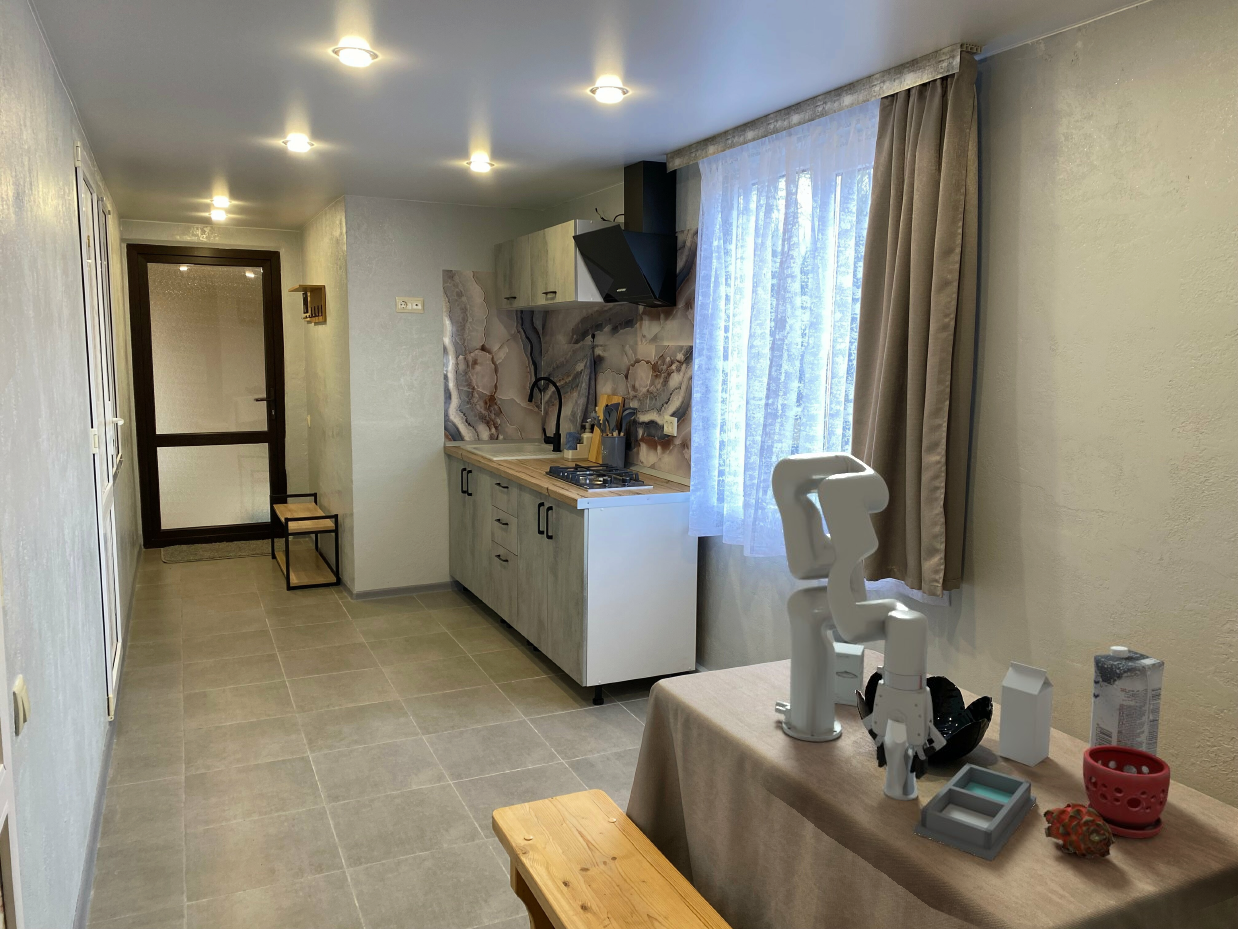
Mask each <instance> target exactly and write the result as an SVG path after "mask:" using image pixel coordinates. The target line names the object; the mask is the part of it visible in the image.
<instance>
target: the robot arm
mask: <svg viewBox="0 0 1238 929" xmlns="http://www.w3.org/2000/svg"><path fill="white" fill-rule="evenodd" d="M771 490H772V493H773V494H772V495H773V498H774V501H775V504H776V506H777V509H778V511H779V515H780V518H781V523H782V532H783V538H784V547H785V553H786V561H787V565H788V566H787V567H788V571H789V573H790V574H791V577H793V578H794V579H795V580H796V581H797V580H799V581H802V582H803V581H805V582H806V581H807V582H808V581H818V580H827V582H826V583H827V585H826V584H824V585H817V586H810V587H809V586H808V587H804V588H801V589H798V590H796V591H793V593H791V595H789V597H788V599H787V602H786V616H787V620H788V621H787V623H788V627H789V634H790V635H789V636H790V678H789V679H790V682H789V684H790V685H789V687H790V688H789V703H788V702H786V701H783V700H777V701H775V702H776V703H775V709H774V712H775V713H777V714H779V715H783V716H784V718H783V719H782V728H781V729H782V730H783V731H784V733H785V734H787V735H789V736H790V737H792V738H795V739H798V740H801V741H807V742H816V743H817V742H827V741H832V740H834V739H835V740H836V739H837V738H838V737H840V736H841V735H842V731H843V730H842V728H843V727H842V725H841V723H840V722H839V721H838V720H837V719H835V718H836V717H835V716H836V712H835V711H836V709H835V708H836V703H835V681H836V651H835V648H834V646H833V642H832V641H831V640H830V638H829V637H828V632H831V631H832V630H836V629H837V630H838V632H839V634H840V635H841V637H842V638H843V639H844V640H845V641H847V642H849V643H853V644H856V645H860V644H865V643H871V642H878V641H884V650H883V665H882V666H880V665H877V667H876V673H878V674H880V675H881V676H882V678H881V680H879V681H878V684H877V687H876V691H875V692H876V693H875V697H874V703H873V711H872V713H871V714H869V715H868V716H866V717H864V718H863V719H862V720H861V723H862V725H863V726H864V728H865V730H866V731H867V733H868V735H869V736H870V737H871V739H872V740H873V741H874V742H873V744H874V745H875V746H876V759H875V760H877V767H878V768H880V769H881V768H883V767H884V766H885V767H886V762H885V756H884V749H883V737H886V729H887V724H888V723H887V721H888V719H891V720H894V721H897V722H902V723H905V727H906V735H907V743H908V744H910V745H914V746H916V750H917V753H918V757H917V758H916V763H915V778H916V780H921V779H922V778H923V777H924V776H925V775H926V774H927V773H928V770H929V769H928V768H929V766H928V765H929V757H930V756H931V755H933V754H934V753H936V752H937V751H939V750H940V749H941V748H943V747H944V746H945V745H946V744H947V740H946V739H945V738H944V737H943V735H942V734H941V732H940V731H939V730H938V729H937V728H936V727H935V725H934V713H933V712H934V711H933V702H932V696H931V690H930V688H929V687H928V686H927V671H928V647H929V621H928V618H927V616H926V615H925V614H923V613H922V612H919V611H917V610H914V609H913V610H912V609H910V607H908V606H907V605H906V604H905V603H903V602H902V601H900V600H898V599H895V598H885V599H884V598H883V599H877V600H874V599H873V600H868V595H867V589H866V582H865V581H866V580H865V575H864V568H863V567H864V566H863V560H864V559H866V558H868V557H869V556H871V555H872V554H874V553H875V552H876V551H877V549H878V548H879V540H878V537H877V534H876V531H875V528H874V526H873V523H872V520H871V517H870V514H875V513H879V512H882V511H884V510H885V509H886V508H887V507H888V504H889V500H890V492H889V489H888V486H887V484H886V481H885V480H884V478H883V477H882V476H881V475H880V473H878V472H877V471H876V470H875V469H873V468H872V467H870V466H869V465H867V464H866V463H865V462H863V461H861V460H860V459H858V458H857V457H855V456H854V455H852V454H850V453H846V452H842V451H840V452H839V451H834V452H833V451H832V452H818V453H816V452H814V453H801V454H799V453H798V454H794V455H789V456H786V457H784V458H782V459H780V460H779V461H778V462H777V463H776V464H775V466H774V468H773V471H772V474H771ZM810 494H817V498H818V502H819V505H820V508H821V510H820V509H819V508H818V506H817V505H816V504H815V502H814V501H813V500H812V499H811V498H810V497H809V496H808V495H810ZM820 511H821V512H822V514H821V512H820ZM822 516H823V517H822ZM823 518H824V522H825V524H826V527H827V531H828V533H825V530H824V524H823ZM919 734H920V735H919ZM931 739H932V740H933V741H934V742H933V743H932V744H930V745H929V742H928V741H927V740H931Z"/></svg>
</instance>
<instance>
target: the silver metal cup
mask: <svg viewBox="0 0 1238 929" xmlns="http://www.w3.org/2000/svg"><path fill="white" fill-rule="evenodd" d="M887 723H888V724H887V729H886V737H883V749H884V756H885V762H886V765H885V767H886V768H885V769H886V770H885V771H886V772H885V780H884V781H885V782H884V785H883V793H884V794H885V795H886V796H888V797H889V798H891V799H894V800H898V801H912V800H915V799H916V798H917V797H918V795H919V794H918V792H919V791H918V786H917V784H918V783H917V779H916V778H915V763H916V758H917V757H918V753H917V750H916V746H914V745H910V744H908V743H907V735H906V727H905V723H902V722H897V721H894V720H891V719H888V721H887ZM919 735H920V734H919Z"/></svg>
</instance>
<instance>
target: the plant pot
mask: <svg viewBox="0 0 1238 929" xmlns="http://www.w3.org/2000/svg"><path fill="white" fill-rule="evenodd" d="M1099 761H1101V764H1100V765H1099V764H1098V762H1099ZM1111 761H1114V762H1116V766H1115V767H1114V768H1111V767H1110V766H1109V763H1110V762H1111ZM1127 765H1131V766H1133V767H1134V768H1135V769H1136V771H1137V774H1129V773H1125V772H1124V767H1125V766H1127ZM1143 766H1145V767H1147V768H1148V770H1149V772H1148V773H1144V772H1143V770H1142V767H1143ZM1092 776H1093V777H1094V779H1093V780H1092ZM1082 778H1083V784H1084V791H1085V794H1086V797H1087V799H1088V801H1089V803H1087V805H1086V807H1087V808H1091V809H1093V810H1095V811H1096V812H1097V813H1098V814H1099V815H1100V816H1101V817H1102V819H1103V821H1104V822H1106V824H1107V825H1108V826H1109V828H1110V829H1111V832H1112V834H1115V835H1118V836H1121V837H1126V838H1133V839H1147V838H1150V837H1153V836H1155V835H1158V833H1160V832H1161V831H1162V830H1163V827H1164V822H1163V820H1162V818H1161V814H1162V813H1163V811H1164V809H1165V807H1166V804H1167V802H1168V796H1169V790H1170V784H1171V783H1170V782H1171V768H1170V766H1169V764H1168V763H1167V762H1166V761H1164V760H1163V759H1162V758H1160V757H1159V756H1157V755H1156V756H1155V755H1152V754H1150V753H1148V752H1145V751H1141V750H1138V749H1134V748H1129V747H1123V746H1114V745H1102V746H1095V747H1091V748H1089V747H1088V748H1087V749H1086V750H1085V751H1084V752H1083V758H1082Z"/></svg>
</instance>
